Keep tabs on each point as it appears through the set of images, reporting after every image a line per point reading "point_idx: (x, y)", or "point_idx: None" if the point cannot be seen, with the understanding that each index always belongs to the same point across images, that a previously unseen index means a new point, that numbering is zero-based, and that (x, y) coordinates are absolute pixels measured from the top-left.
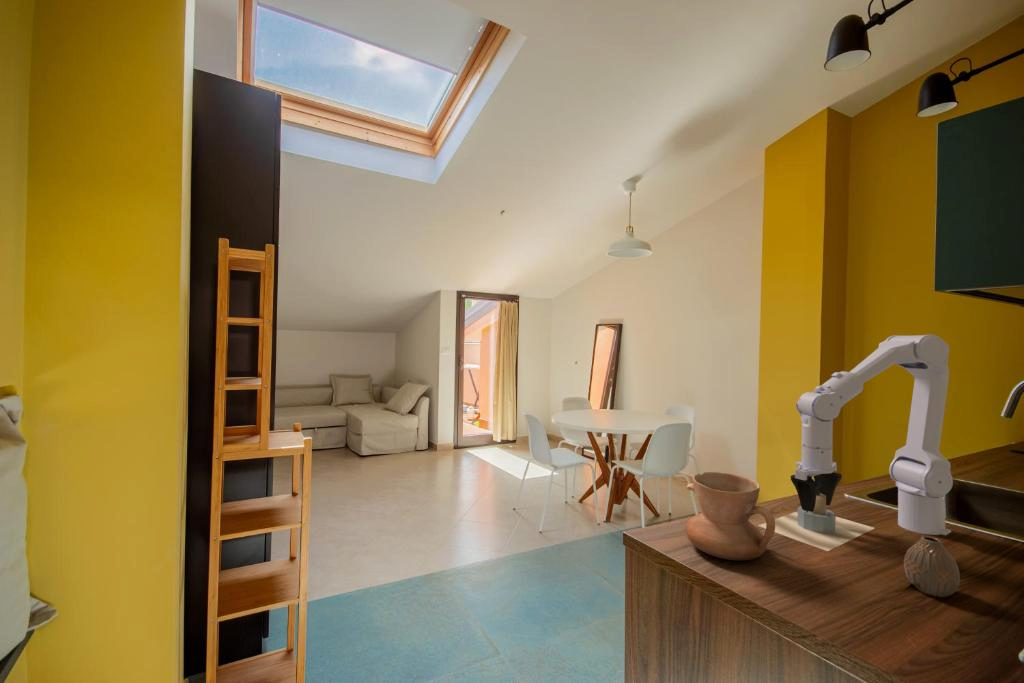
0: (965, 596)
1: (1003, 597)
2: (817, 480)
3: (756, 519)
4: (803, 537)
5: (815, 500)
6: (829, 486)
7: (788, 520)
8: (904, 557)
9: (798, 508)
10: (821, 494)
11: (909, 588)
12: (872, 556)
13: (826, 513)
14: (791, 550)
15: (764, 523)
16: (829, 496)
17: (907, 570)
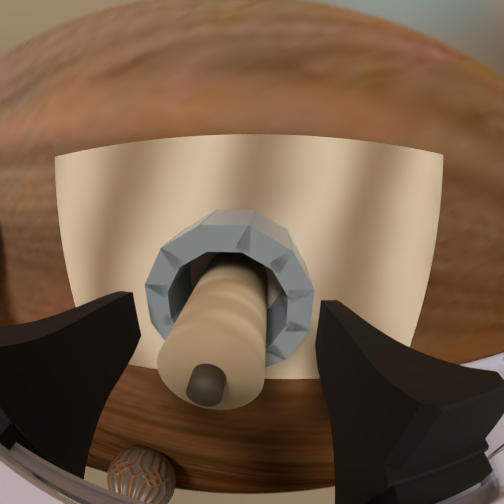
0: (180, 474)
1: (227, 490)
2: (370, 392)
3: (139, 86)
4: (100, 290)
5: (113, 383)
6: (339, 433)
7: (200, 176)
8: (119, 471)
9: (177, 240)
10: (246, 387)
11: (126, 440)
12: (193, 408)
13: (277, 329)
14: (43, 288)
15: (87, 152)
16: (325, 383)
17: (114, 459)
